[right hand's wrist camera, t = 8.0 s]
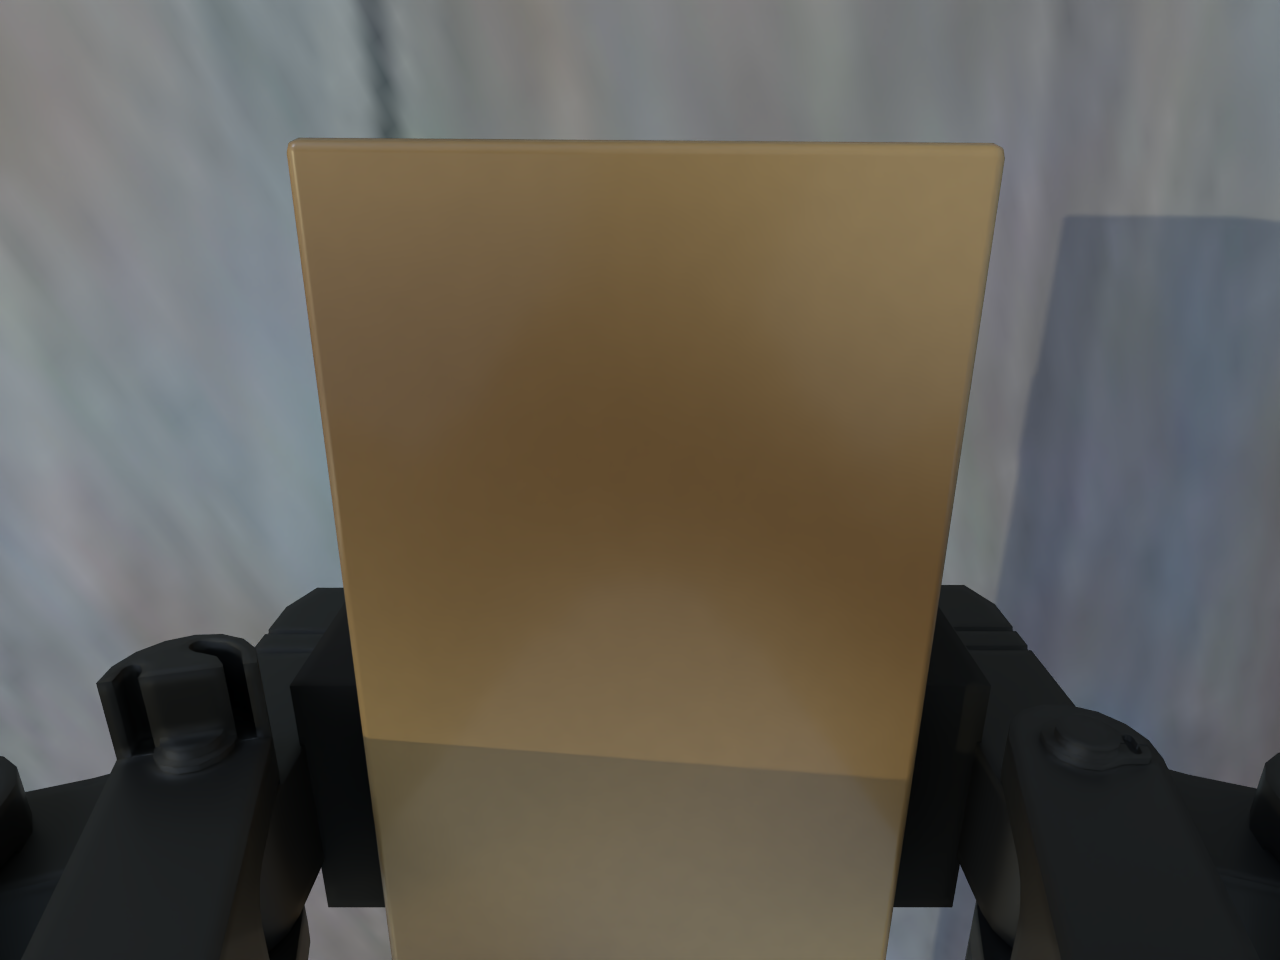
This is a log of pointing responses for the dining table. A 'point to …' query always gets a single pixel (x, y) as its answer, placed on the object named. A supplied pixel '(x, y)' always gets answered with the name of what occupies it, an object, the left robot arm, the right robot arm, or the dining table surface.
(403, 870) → the bar
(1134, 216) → the dining table surface
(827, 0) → the dining table surface
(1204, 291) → the dining table surface
